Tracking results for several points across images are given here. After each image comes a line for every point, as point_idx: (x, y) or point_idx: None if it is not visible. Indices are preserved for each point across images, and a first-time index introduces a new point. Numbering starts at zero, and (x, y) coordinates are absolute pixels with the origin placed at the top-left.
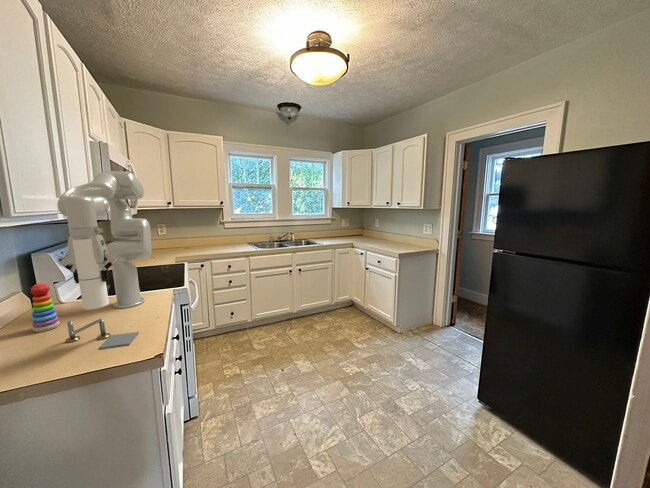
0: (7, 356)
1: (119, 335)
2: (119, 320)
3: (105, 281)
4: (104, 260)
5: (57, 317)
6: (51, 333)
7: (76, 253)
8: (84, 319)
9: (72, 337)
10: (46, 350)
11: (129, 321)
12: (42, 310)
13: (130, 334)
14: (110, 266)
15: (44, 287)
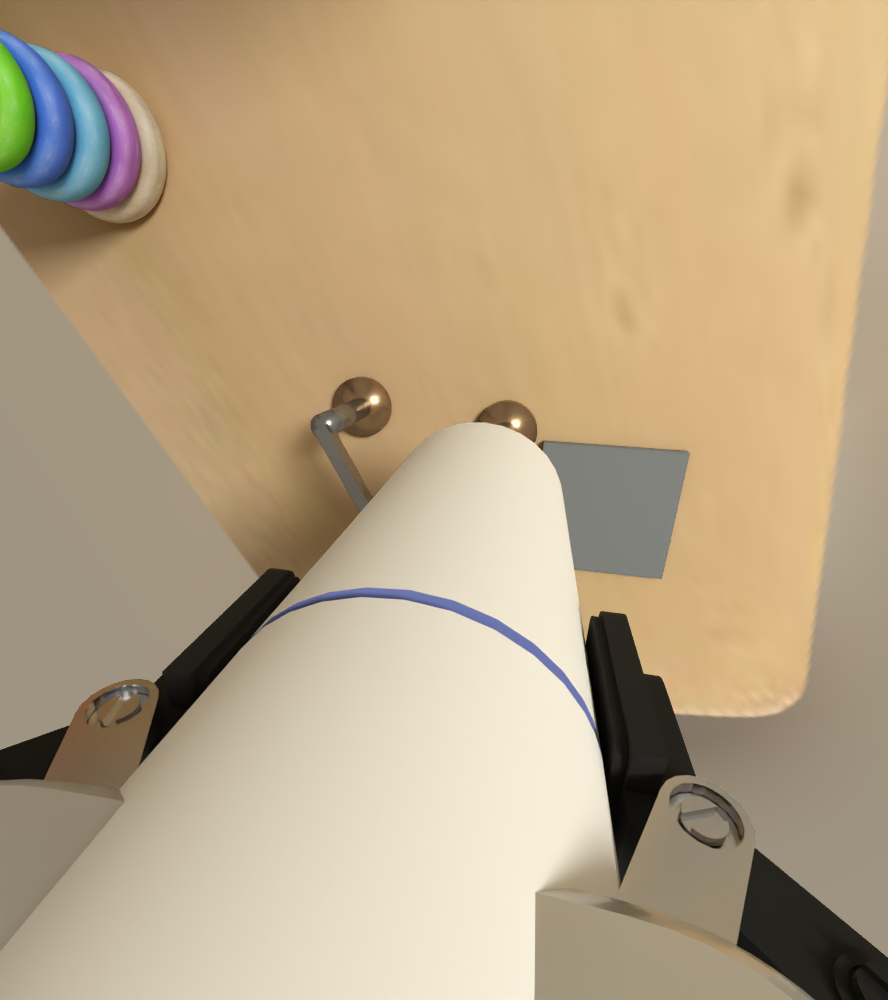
0: (188, 474)
1: (591, 463)
2: (517, 164)
3: (579, 606)
4: (678, 949)
5: (114, 107)
6: (200, 263)
7: None
8: (258, 45)
9: (362, 418)
10: (306, 478)
11: (594, 214)
12: (14, 165)
13: (649, 473)
14: (792, 887)
15: None
